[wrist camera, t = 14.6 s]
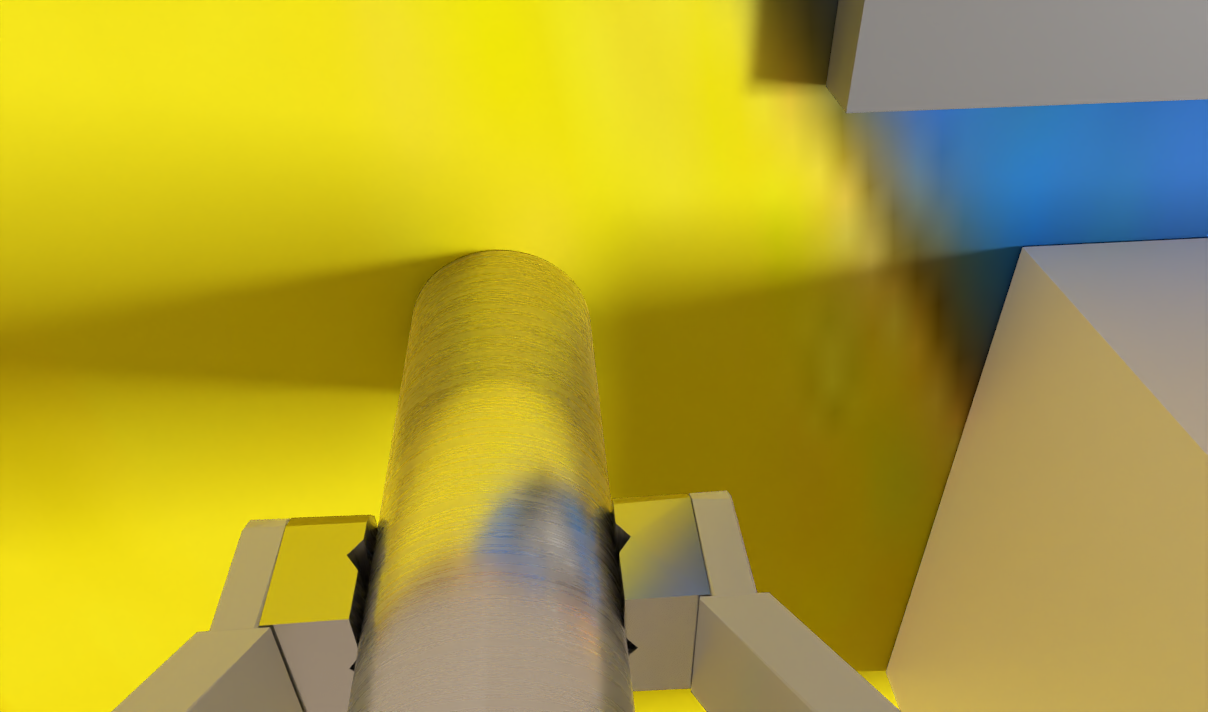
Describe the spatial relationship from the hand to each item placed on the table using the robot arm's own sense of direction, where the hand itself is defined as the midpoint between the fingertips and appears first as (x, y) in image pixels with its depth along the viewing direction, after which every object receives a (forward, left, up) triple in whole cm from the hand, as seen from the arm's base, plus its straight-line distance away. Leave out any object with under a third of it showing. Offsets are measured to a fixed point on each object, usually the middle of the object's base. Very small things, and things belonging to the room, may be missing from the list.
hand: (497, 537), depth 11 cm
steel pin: (0, 0, -5) cm, 5 cm away
